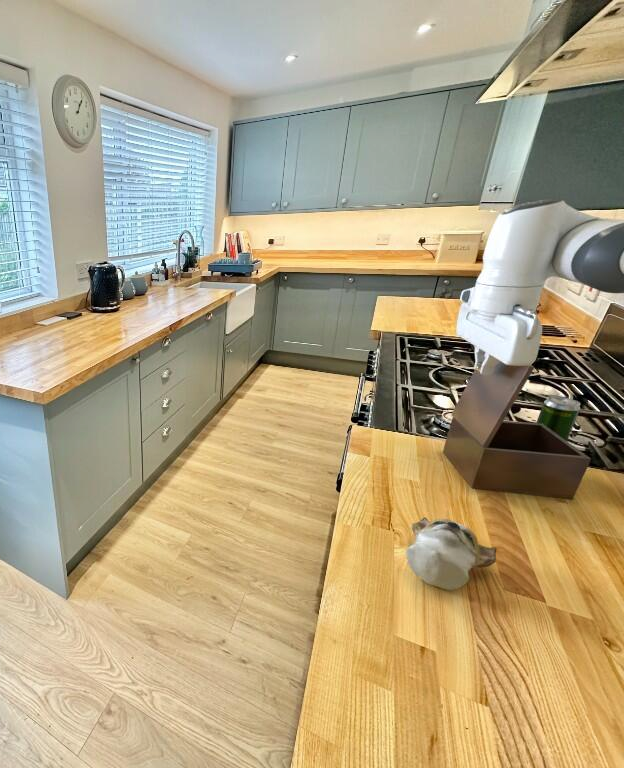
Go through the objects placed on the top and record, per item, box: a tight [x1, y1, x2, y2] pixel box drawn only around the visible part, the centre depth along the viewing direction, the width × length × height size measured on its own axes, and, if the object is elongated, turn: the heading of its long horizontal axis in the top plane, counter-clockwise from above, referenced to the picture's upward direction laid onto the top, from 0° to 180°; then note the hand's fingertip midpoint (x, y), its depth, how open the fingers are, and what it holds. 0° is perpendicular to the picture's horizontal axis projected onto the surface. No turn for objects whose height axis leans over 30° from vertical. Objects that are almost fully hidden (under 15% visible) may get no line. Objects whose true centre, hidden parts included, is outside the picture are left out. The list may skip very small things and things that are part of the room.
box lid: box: [451, 361, 535, 447], centre depth 80 cm, size 16×14×1 cm
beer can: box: [535, 395, 581, 442], centre depth 89 cm, size 5×5×12 cm
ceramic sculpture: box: [405, 516, 497, 591], centre depth 63 cm, size 11×9×15 cm
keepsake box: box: [442, 416, 592, 500], centre depth 83 cm, size 16×14×9 cm
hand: (482, 372), depth 79 cm, fingers closed
